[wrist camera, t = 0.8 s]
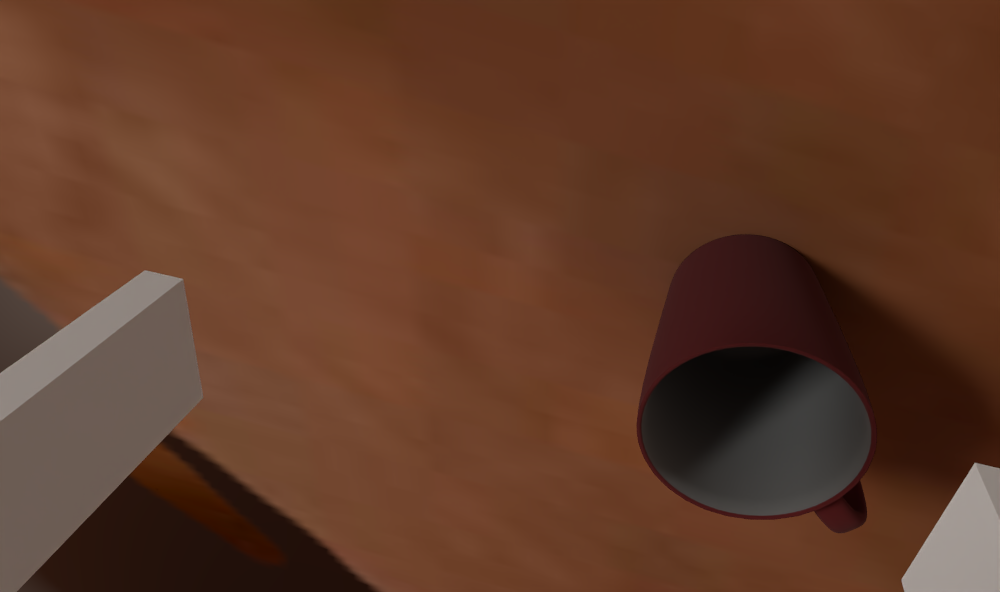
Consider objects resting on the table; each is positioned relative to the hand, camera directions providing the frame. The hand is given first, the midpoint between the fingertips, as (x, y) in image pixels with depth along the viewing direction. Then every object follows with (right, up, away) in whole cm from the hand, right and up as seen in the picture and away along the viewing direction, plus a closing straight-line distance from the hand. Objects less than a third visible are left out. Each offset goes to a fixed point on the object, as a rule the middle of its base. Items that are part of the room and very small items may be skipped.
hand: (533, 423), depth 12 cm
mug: (+13, +1, +25) cm, 29 cm away
